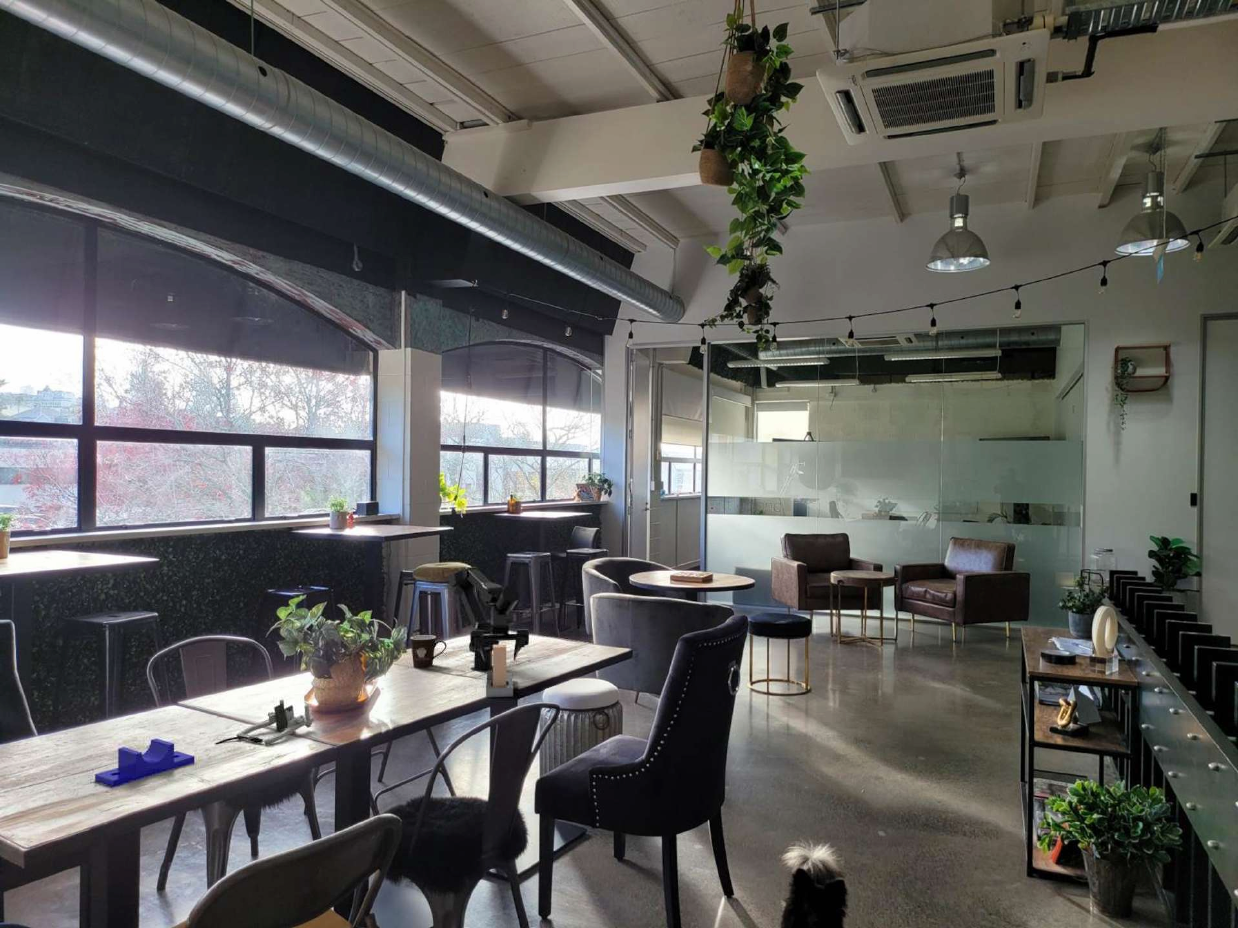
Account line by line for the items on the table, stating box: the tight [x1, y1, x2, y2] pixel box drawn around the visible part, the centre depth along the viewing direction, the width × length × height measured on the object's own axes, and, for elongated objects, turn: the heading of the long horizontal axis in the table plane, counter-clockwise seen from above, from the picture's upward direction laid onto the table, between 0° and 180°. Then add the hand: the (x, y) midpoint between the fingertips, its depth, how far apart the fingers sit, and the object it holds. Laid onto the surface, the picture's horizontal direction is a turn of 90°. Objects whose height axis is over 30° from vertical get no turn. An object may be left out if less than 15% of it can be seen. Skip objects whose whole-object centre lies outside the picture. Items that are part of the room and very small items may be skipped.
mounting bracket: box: [94, 738, 196, 788], centre depth 185 cm, size 18×7×6 cm, turn 149°
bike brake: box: [214, 699, 315, 746], centre depth 209 cm, size 14×7×20 cm
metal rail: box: [485, 672, 514, 698], centre depth 258 cm, size 20×8×2 cm, turn 8°
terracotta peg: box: [492, 644, 507, 686], centre depth 254 cm, size 4×4×14 cm
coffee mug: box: [410, 634, 447, 669], centre depth 288 cm, size 12×9×10 cm
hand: (499, 660), depth 262 cm, fingers open, 9 cm apart
